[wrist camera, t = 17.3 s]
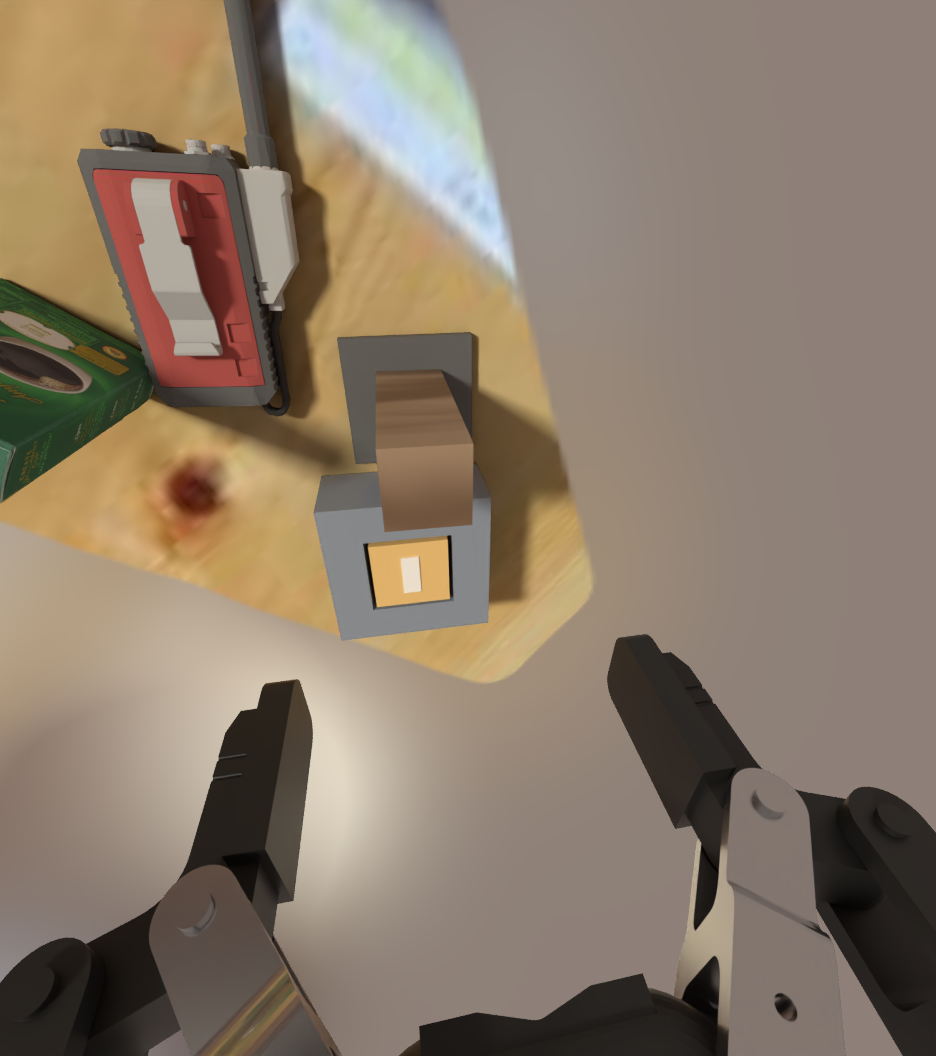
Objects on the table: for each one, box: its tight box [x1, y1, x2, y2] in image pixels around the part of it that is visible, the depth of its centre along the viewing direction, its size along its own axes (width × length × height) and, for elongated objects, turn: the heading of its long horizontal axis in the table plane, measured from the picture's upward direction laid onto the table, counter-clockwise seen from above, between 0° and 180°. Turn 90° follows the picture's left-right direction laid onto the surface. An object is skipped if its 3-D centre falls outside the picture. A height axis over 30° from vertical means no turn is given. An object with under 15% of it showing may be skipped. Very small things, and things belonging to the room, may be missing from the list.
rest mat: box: [337, 332, 472, 464], centre depth 30 cm, size 8×8×1 cm
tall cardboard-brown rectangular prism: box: [376, 369, 474, 532], centre depth 25 cm, size 4×4×12 cm
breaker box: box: [314, 464, 491, 640], centre depth 34 cm, size 11×11×5 cm
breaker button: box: [368, 536, 450, 607], centre depth 34 cm, size 5×5×4 cm
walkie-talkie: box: [77, 0, 300, 416], centre depth 22 cm, size 9×4×20 cm
